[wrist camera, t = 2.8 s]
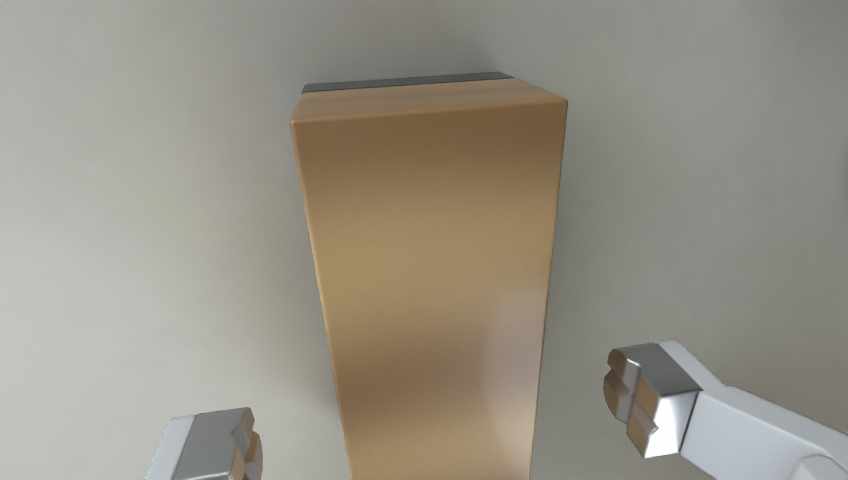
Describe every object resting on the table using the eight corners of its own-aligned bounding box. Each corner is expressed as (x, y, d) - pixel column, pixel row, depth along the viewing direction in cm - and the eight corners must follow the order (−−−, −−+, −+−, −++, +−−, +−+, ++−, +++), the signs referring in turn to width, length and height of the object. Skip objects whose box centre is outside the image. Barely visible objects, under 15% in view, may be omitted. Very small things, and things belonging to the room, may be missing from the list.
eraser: (303, 84, 11) (288, 118, 8) (501, 71, 12) (570, 97, 8) (356, 428, 17) (361, 540, 13) (489, 406, 17) (527, 508, 14)
